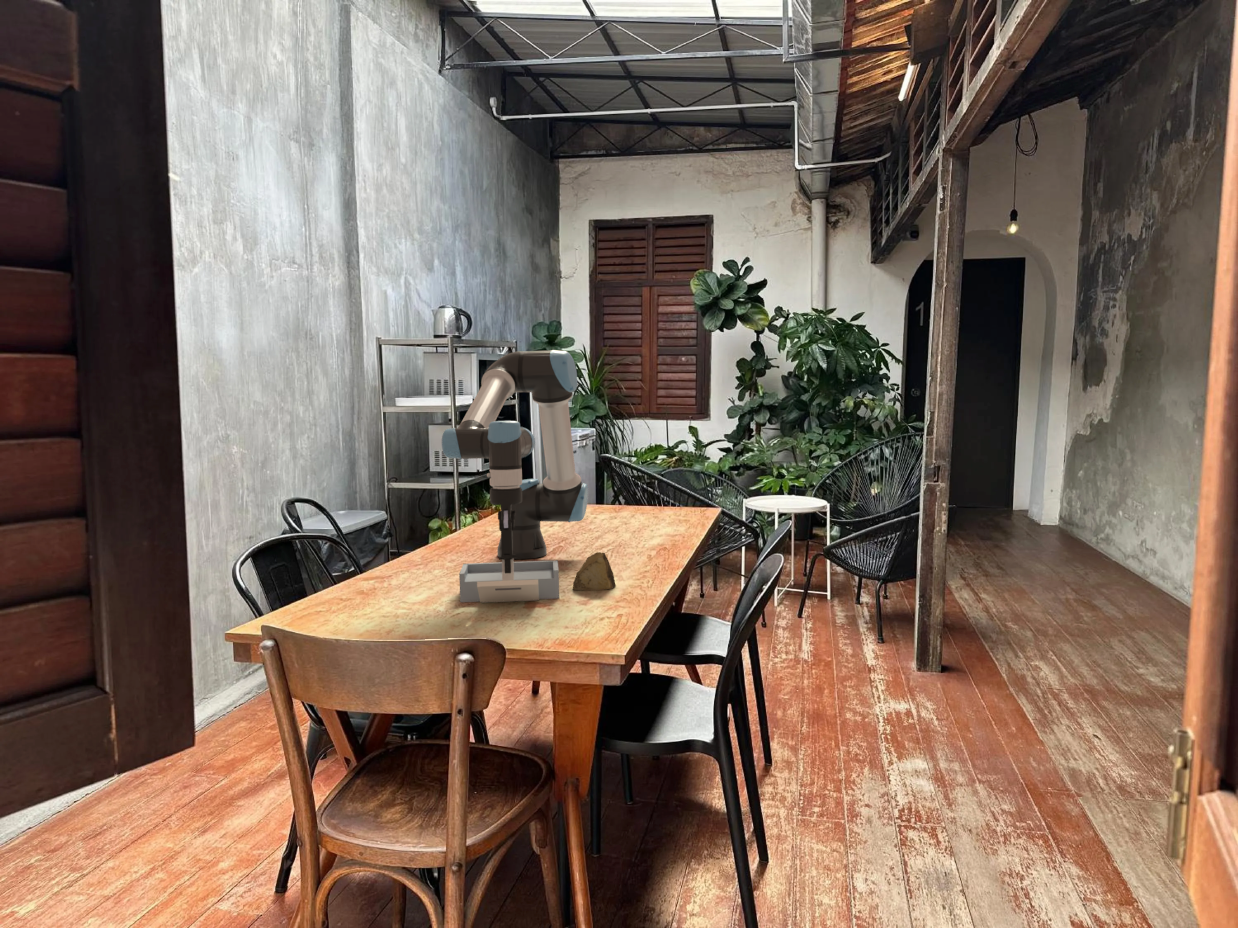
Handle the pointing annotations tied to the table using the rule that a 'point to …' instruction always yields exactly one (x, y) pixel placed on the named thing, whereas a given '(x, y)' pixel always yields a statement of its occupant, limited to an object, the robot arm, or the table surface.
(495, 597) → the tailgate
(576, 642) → the table surface
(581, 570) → the rock
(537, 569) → the bed
